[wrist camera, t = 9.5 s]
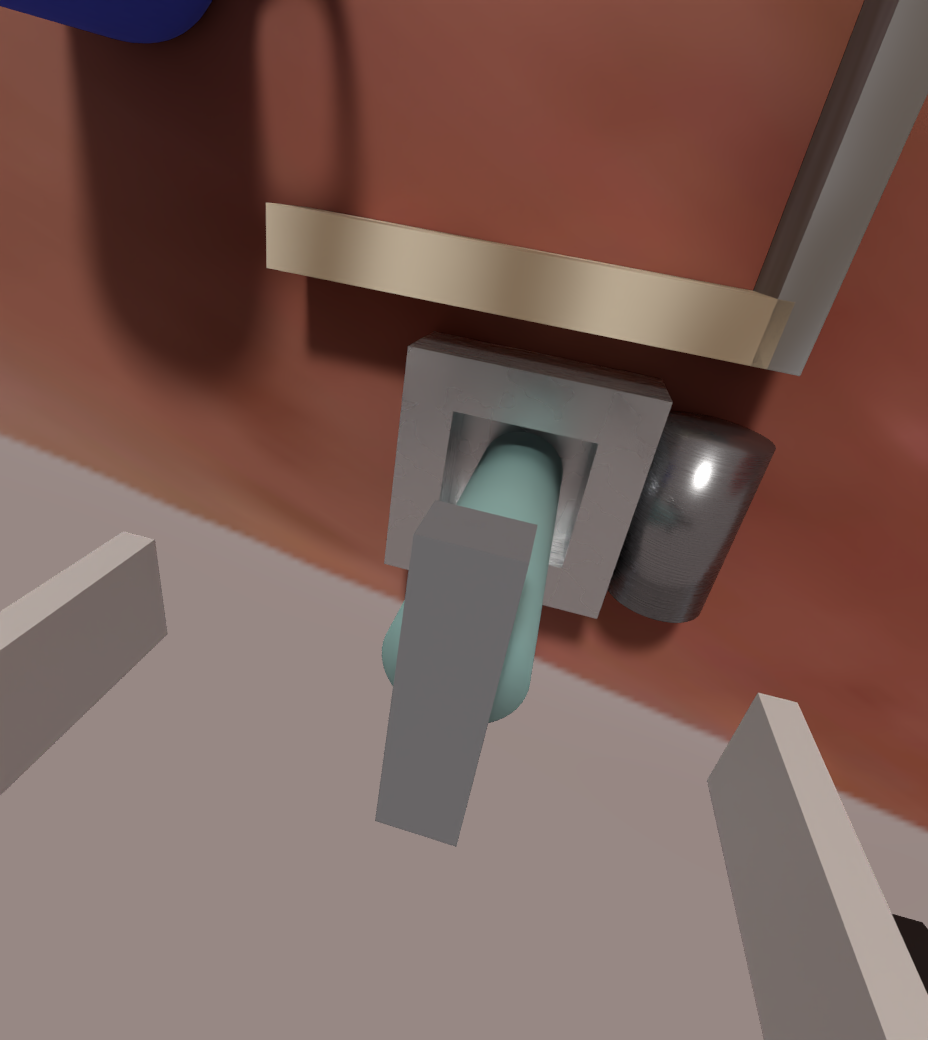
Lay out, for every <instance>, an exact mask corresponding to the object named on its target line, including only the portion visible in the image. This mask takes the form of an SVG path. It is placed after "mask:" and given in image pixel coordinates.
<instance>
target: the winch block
mask: <svg viewBox="0 0 928 1040" xmlns="http://www.w3.org/2000/svg"><path fill="white" fill-rule="evenodd" d="M672 403H673V402H672V400H671V398H670V395H669V393H668V391H667V389H666V387H665V385H664V382H663V380H662V379H661V378H656V377H651V376H646V375H642V374H637V373H632V372H627V371H622V370H618V369H613V368H608V367H603V366H598V365H594V364H589V363H584V362H579V361H575V360H570V359H565V358H560V357H555V356H551V355H546V354H541V353H536V352H532V351H527V350H522V349H517V348H512V347H508V346H503V345H498V344H493V343H488V342H484V341H479V340H474V339H469V338H465V337H460V336H455V335H450V334H445V333H441V332H436V331H434V332H432V333H430V334H428V335H427V336H425V337H423V338H421V339H419V340H418V341H416V342H414V343H412V344H411V345H409V346H408V351H407V360H406V369H405V378H404V387H403V397H402V406H401V415H400V424H399V433H398V442H397V451H396V461H395V470H394V479H393V488H392V497H391V506H390V516H389V525H388V534H387V543H386V552H385V561H384V564H388V565H392V566H395V567H399V568H403V569H407V570H409V565H410V557H411V550H412V542H413V535H414V532H415V531H416V529H417V528H418V526H419V524H420V523H421V521H422V520H423V518H424V517H425V515H426V513H427V512H428V510H429V509H430V507H431V505H432V504H433V502H434V501H435V500H438V501H442V502H446V503H450V504H454V505H456V504H457V502H458V500H459V498H460V496H461V495H462V493H463V491H464V489H465V487H466V485H467V484H468V482H469V480H470V478H471V476H472V474H473V472H474V471H475V469H476V467H477V465H478V463H479V461H480V459H481V458H482V456H483V454H484V452H485V450H486V449H487V447H488V446H489V445H490V444H491V443H492V442H493V441H494V440H496V439H497V438H499V437H500V436H502V435H505V434H508V433H512V432H528V433H532V434H535V435H538V436H540V437H542V438H543V439H545V440H546V441H548V442H549V443H550V444H551V445H552V446H553V447H554V448H555V450H556V451H557V453H558V455H559V457H560V459H561V463H562V468H563V476H562V483H561V489H560V495H559V502H558V508H557V514H556V521H555V527H554V534H553V540H552V546H551V553H550V559H549V565H548V572H547V578H546V584H545V591H544V597H543V604H542V605H545V606H549V607H553V608H557V609H560V610H564V611H568V612H572V613H576V614H580V615H584V616H587V617H591V618H595V619H597V618H598V615H599V612H600V609H601V606H602V603H603V600H604V598H605V595H606V592H607V590H608V591H609V592H610V594H611V595H612V596H613V597H614V598H615V599H616V600H617V601H618V602H620V603H621V604H623V605H624V606H625V607H627V608H629V609H630V610H632V611H634V612H636V613H638V614H641V615H643V616H646V617H648V618H651V619H655V620H659V621H664V622H672V623H682V622H688V621H691V620H693V619H695V618H696V617H698V615H699V614H700V612H701V610H702V608H703V606H704V604H705V602H706V599H707V597H708V595H709V593H710V591H711V589H712V586H713V584H714V582H715V580H716V578H717V575H718V573H719V571H720V569H721V567H722V565H723V562H724V560H725V558H726V556H727V554H728V552H729V549H730V547H731V545H732V543H733V541H734V539H735V536H736V534H737V532H738V530H739V528H740V525H741V523H742V521H743V519H744V517H745V515H746V512H747V510H748V508H749V506H750V504H751V502H752V499H753V497H754V495H755V493H756V491H757V489H758V486H759V484H760V482H761V480H762V478H763V475H764V473H765V471H766V469H767V467H768V465H769V462H770V460H771V458H772V456H773V454H774V452H775V449H776V448H775V445H774V444H773V443H772V442H771V441H770V440H769V439H767V438H766V437H764V436H762V435H761V434H759V433H757V432H755V431H753V430H750V429H748V428H745V427H743V426H740V425H738V424H735V423H732V422H729V421H725V420H722V419H718V418H715V417H710V416H706V415H701V414H696V413H689V412H677V411H672V412H670V409H671V406H672Z"/></svg>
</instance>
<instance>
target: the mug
mask: <svg viewBox="0 0 928 1040" xmlns="http://www.w3.org/2000/svg"><path fill="white" fill-rule="evenodd" d="M211 2H212V0H0V6H2V7H6V8H9V9H13V10H16V11H19V12H23V13H26V14H30V15H33V16H37V17H40V18H44V19H47V20H50V21H54V22H57V23H61V24H64V25H68V26H71V27H75V28H78V29H81V30H85V31H88V32H92V33H95V34H99V35H102V36H106V37H109V38H112V39H117V40H121V41H125V42H131V43H157V42H162V41H167V40H170V39H172V38H175V37H177V36H179V35H181V34H183V33H185V32H186V31H187V30H189V29H190V28H191V27H192V26H194V25H195V24H196V23H197V22H198V21H199V20H200V18H201V17H202V16H203V14H204V13H205V11H206V10H207V8H208V7H209V5H210V4H211Z"/></svg>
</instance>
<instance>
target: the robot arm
mask: <svg viewBox="0 0 928 1040" xmlns="http://www.w3.org/2000/svg"><path fill="white" fill-rule="evenodd" d="M166 635H167V627H166V619H165V612H164V605H163V597H162V590H161V582H160V575H159V567H158V560H157V552H156V545H155V539H151V538H147V537H143V536H139V535H135V534H131V533H127V532H122V533H120V534H119V535H117V536H116V537H114V538H113V539H111V540H109V541H108V542H107V543H105V544H103V545H102V546H100V547H99V548H97V549H96V550H94V551H93V552H91V553H89V554H88V555H86V556H85V557H83V558H82V559H80V560H79V561H77V562H76V563H74V564H73V565H71V566H70V567H68V568H66V569H65V570H63V571H62V572H60V573H59V574H57V575H56V576H54V577H53V578H51V579H50V580H48V581H46V582H45V583H43V584H42V585H40V586H39V587H37V588H36V589H34V590H33V591H31V592H30V593H28V594H27V595H25V596H24V597H22V598H20V599H19V600H18V601H16V602H14V603H13V604H11V605H10V606H8V607H6V608H5V609H3V610H2V611H0V795H1V794H2V793H3V792H4V791H5V790H6V789H7V788H8V787H9V786H11V784H12V783H14V782H15V781H16V780H17V779H18V778H19V777H20V776H21V775H22V774H23V773H24V772H25V771H26V770H27V769H28V768H29V767H30V766H31V765H32V764H33V763H34V762H35V761H36V760H37V759H39V757H41V756H42V755H43V754H44V753H45V752H46V751H47V750H48V749H49V748H50V747H51V746H52V745H53V744H54V743H55V742H56V741H57V740H58V739H59V738H60V737H61V736H62V735H63V734H64V733H65V732H67V730H69V729H70V727H72V726H73V725H74V724H75V723H76V722H77V721H78V720H79V719H80V718H81V717H82V716H83V715H84V714H85V713H86V712H87V711H88V710H89V709H90V708H91V707H92V706H93V705H95V704H96V703H97V702H98V701H99V699H101V698H102V697H103V696H104V695H105V694H106V693H107V692H108V691H109V690H110V689H111V688H112V687H113V686H114V685H115V684H116V683H117V682H118V681H119V680H120V679H122V677H124V676H125V675H126V674H127V673H128V672H129V671H130V670H131V669H132V668H133V667H134V666H135V665H136V664H137V663H138V662H139V661H140V660H141V659H142V658H143V657H144V656H145V655H146V654H147V653H148V652H149V651H151V650H152V649H153V648H154V647H155V646H156V645H157V644H158V643H159V642H160V641H161V640H162V639H163V638H164V637H165V636H166ZM707 782H708V787H709V792H710V796H711V801H712V805H713V810H714V814H715V819H716V823H717V828H718V833H719V837H720V842H721V846H722V851H723V856H724V860H725V865H726V869H727V874H728V878H729V883H730V887H731V892H732V897H733V901H734V906H735V910H736V915H737V919H738V924H739V929H740V933H741V938H742V942H743V947H744V951H745V956H746V960H747V965H748V970H749V974H750V979H751V983H752V988H753V992H754V997H755V1001H756V1006H757V1011H758V1015H759V1020H760V1024H761V1029H762V1033H763V1038H764V1040H928V929H927V928H926V926H925V925H924V924H923V923H922V922H919V921H915V920H912V919H908V918H905V917H901V916H898V915H894V914H891V911H890V909H889V907H888V905H887V902H886V900H885V898H884V896H883V893H882V891H881V889H880V887H879V884H878V882H877V880H876V878H875V875H874V873H873V871H872V869H871V866H870V864H869V862H868V860H867V858H866V855H865V853H864V851H863V849H862V846H861V844H860V842H859V840H858V837H857V836H856V833H855V831H854V828H853V826H852V824H851V822H850V819H849V817H848V815H847V813H846V810H845V808H844V806H843V804H842V801H841V799H840V797H839V795H838V793H837V790H836V788H835V786H834V784H833V781H832V779H831V777H830V775H829V772H828V770H827V768H826V766H825V763H824V761H823V759H822V757H821V754H820V752H819V750H818V748H817V745H816V743H815V741H814V739H813V737H812V734H811V732H810V730H809V728H808V725H807V723H806V721H805V719H804V716H803V714H802V712H801V710H800V707H799V705H798V703H797V702H793V701H789V700H785V699H781V698H777V697H773V696H769V695H765V694H761V693H757V695H756V697H755V699H754V700H753V702H752V704H751V706H750V707H749V709H748V711H747V712H746V714H745V716H744V718H743V719H742V721H741V723H740V724H739V726H738V728H737V730H736V731H735V733H734V735H733V736H732V738H731V740H730V742H729V743H728V745H727V747H726V749H725V750H724V752H723V754H722V755H721V757H720V759H719V761H718V763H717V764H716V766H715V768H714V769H713V771H712V773H711V774H710V776H709V778H708V780H707Z"/></svg>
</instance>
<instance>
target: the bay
mask: <svg viewBox="0 0 928 1040" xmlns="http://www.w3.org/2000/svg"><path fill="white" fill-rule="evenodd" d="M927 94H928V0H865V1H864V3H863V6H862V9H861V11H860V14H859V16H858V19H857V22H856V24H855V27H854V29H853V32H852V35H851V37H850V40H849V43H848V45H847V48H846V50H845V53H844V56H843V58H842V61H841V63H840V66H839V69H838V71H837V74H836V76H835V79H834V82H833V84H832V87H831V89H830V92H829V95H828V97H827V100H826V103H825V105H824V108H823V110H822V113H821V116H820V118H819V121H818V123H817V126H816V129H815V131H814V134H813V136H812V139H811V142H810V144H809V147H808V150H807V152H806V155H805V157H804V160H803V163H802V165H801V168H800V170H799V173H798V176H797V178H796V181H795V183H794V186H793V189H792V191H791V194H790V196H789V199H788V202H787V204H786V207H785V210H784V212H783V215H782V217H781V220H780V223H779V225H778V228H777V230H776V233H775V236H774V238H773V241H772V243H771V246H770V249H769V251H768V254H767V257H766V259H765V262H764V264H763V267H762V270H761V272H760V275H759V277H758V280H757V283H756V285H755V288H754V290H753V291H751V290H746V289H740V288H735V287H730V286H724V285H719V284H714V283H708V282H703V281H698V280H693V279H687V278H682V277H677V276H671V275H666V274H661V273H655V272H650V271H645V270H639V269H634V268H629V267H623V266H618V265H613V264H607V263H602V262H597V261H592V260H586V259H581V258H576V257H570V256H565V255H560V254H554V253H549V252H544V251H538V250H533V249H528V248H522V247H517V246H512V245H506V244H501V243H496V242H491V241H485V240H480V239H475V238H469V237H464V236H459V235H453V234H448V233H443V232H437V231H432V230H427V229H421V228H416V227H411V226H405V225H400V224H395V223H390V222H384V221H379V220H374V219H368V218H363V217H358V216H352V215H347V214H342V213H336V212H331V211H326V210H320V209H315V208H310V207H303V206H293V205H284V204H275V203H266V266H267V268H270V269H275V270H280V271H285V272H290V273H295V274H300V275H305V276H310V277H314V278H319V279H324V280H329V281H334V282H339V283H344V284H349V285H354V286H359V287H364V288H369V289H374V290H379V291H383V292H388V293H393V294H398V295H403V296H408V297H413V298H418V299H423V300H428V301H433V302H438V303H443V304H448V305H452V306H457V307H462V308H467V309H472V310H477V311H482V312H487V313H492V314H497V315H502V316H507V317H512V318H516V319H521V320H526V321H531V322H536V323H541V324H546V325H551V326H556V327H561V328H566V329H571V330H576V331H581V332H585V333H590V334H595V335H600V336H605V337H610V338H615V339H620V340H625V341H630V342H635V343H640V344H645V345H650V346H654V347H659V348H664V349H669V350H674V351H679V352H684V353H689V354H694V355H699V356H704V357H709V358H714V359H718V360H723V361H728V362H733V363H738V364H743V365H748V366H753V367H758V368H763V369H768V370H773V371H778V372H783V373H787V374H792V375H797V376H800V375H801V372H802V370H803V368H804V366H805V364H806V361H807V359H808V357H809V355H810V353H811V350H812V348H813V346H814V344H815V341H816V339H817V337H818V335H819V333H820V330H821V328H822V326H823V324H824V322H825V319H826V317H827V315H828V313H829V310H830V308H831V306H832V304H833V302H834V299H835V297H836V295H837V293H838V291H839V288H840V286H841V284H842V282H843V280H844V277H845V275H846V273H847V271H848V268H849V266H850V264H851V262H852V260H853V257H854V255H855V253H856V251H857V249H858V246H859V244H860V242H861V240H862V237H863V235H864V233H865V231H866V229H867V226H868V224H869V222H870V220H871V218H872V215H873V213H874V211H875V209H876V206H877V204H878V202H879V200H880V198H881V195H882V193H883V191H884V189H885V187H886V184H887V182H888V180H889V178H890V176H891V173H892V171H893V169H894V167H895V164H896V162H897V160H898V158H899V156H900V153H901V151H902V149H903V147H904V145H905V142H906V140H907V138H908V136H909V133H910V131H911V129H912V127H913V125H914V122H915V120H916V118H917V116H918V114H919V111H920V109H921V107H922V105H923V102H924V100H925V98H926V96H927Z"/></svg>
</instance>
